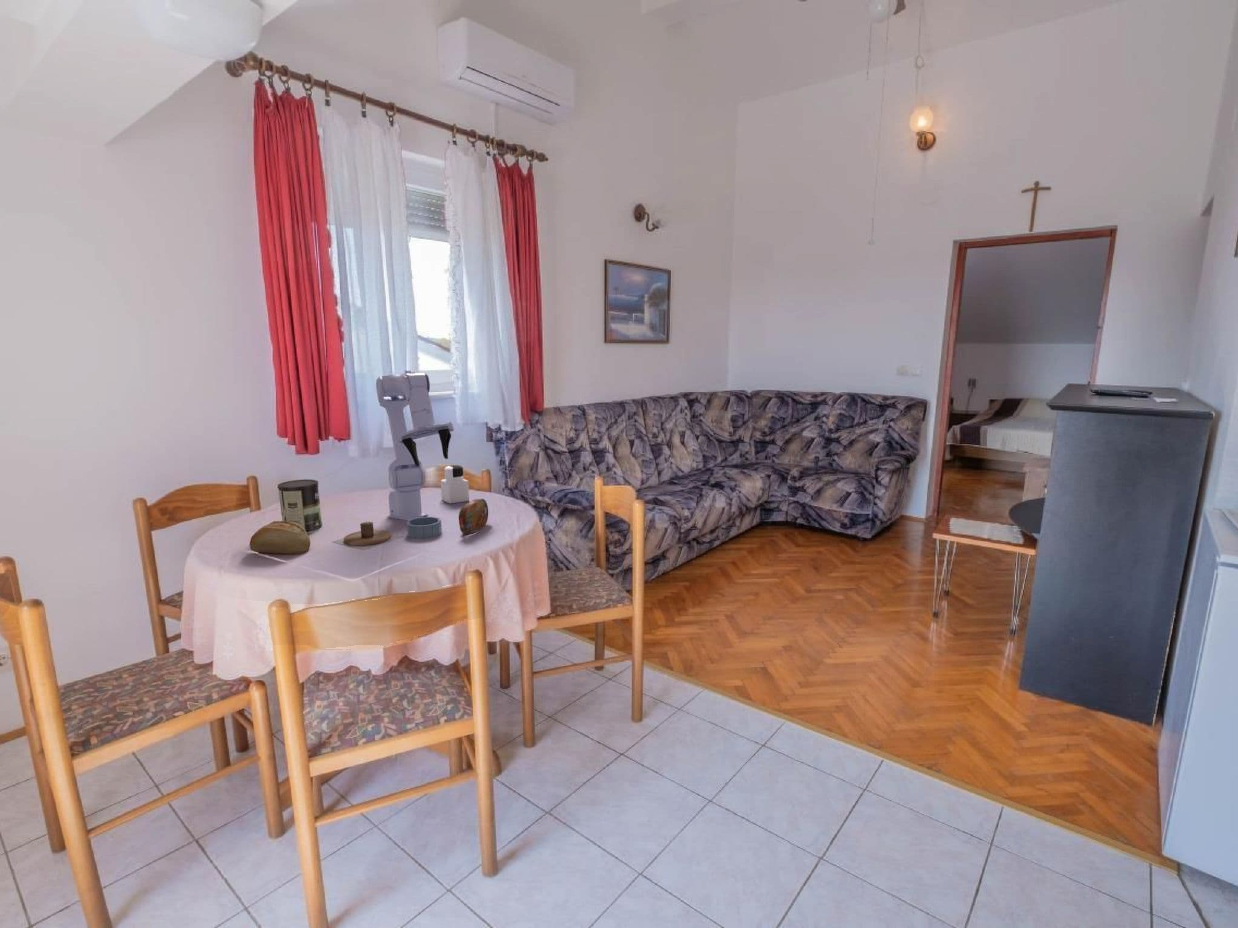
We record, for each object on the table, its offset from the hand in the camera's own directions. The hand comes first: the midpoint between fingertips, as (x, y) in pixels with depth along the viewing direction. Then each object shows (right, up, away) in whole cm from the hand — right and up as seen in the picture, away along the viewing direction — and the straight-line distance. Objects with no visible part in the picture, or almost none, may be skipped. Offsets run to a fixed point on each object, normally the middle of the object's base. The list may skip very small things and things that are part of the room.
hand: (431, 461), depth 163 cm
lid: (-19, -21, +5) cm, 29 cm away
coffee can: (-41, -20, +14) cm, 48 cm away
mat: (-19, -22, +5) cm, 29 cm away
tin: (+8, -20, +15) cm, 26 cm away
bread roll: (-38, -24, -4) cm, 45 cm away
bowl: (-5, -21, +10) cm, 23 cm away
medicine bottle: (-6, -13, +47) cm, 50 cm away
